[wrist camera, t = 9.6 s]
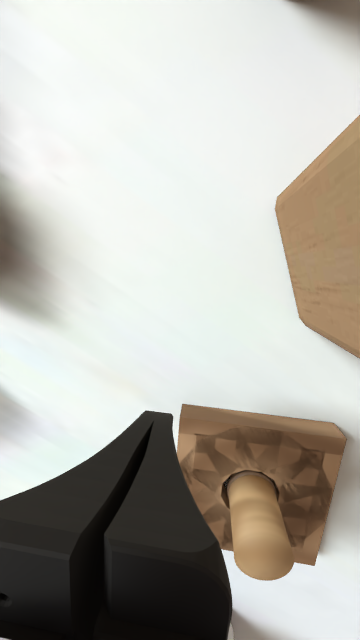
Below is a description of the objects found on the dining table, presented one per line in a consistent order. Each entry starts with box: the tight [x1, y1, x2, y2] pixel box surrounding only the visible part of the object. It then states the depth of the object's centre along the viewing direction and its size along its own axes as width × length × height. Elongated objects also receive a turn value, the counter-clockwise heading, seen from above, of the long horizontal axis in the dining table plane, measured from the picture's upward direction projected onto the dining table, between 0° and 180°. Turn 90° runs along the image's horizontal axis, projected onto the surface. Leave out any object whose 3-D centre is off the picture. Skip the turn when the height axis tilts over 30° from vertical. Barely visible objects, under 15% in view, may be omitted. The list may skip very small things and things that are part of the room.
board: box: [177, 404, 347, 566], centre depth 22 cm, size 13×13×2 cm
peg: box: [227, 470, 294, 580], centre depth 20 cm, size 4×4×7 cm
